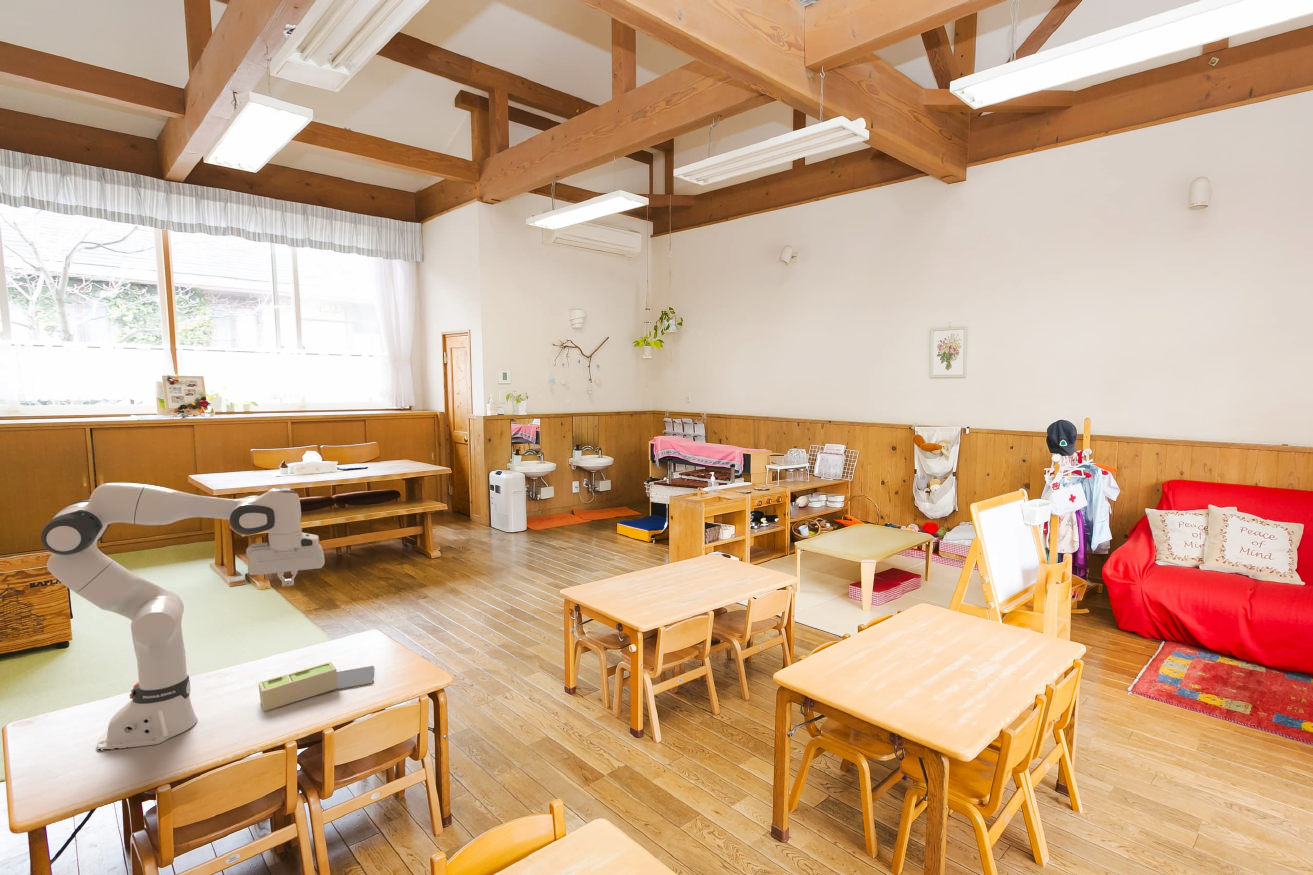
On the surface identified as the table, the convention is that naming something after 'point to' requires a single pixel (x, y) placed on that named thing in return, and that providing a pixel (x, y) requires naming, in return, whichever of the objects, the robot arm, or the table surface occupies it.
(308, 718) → the table surface
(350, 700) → the table surface
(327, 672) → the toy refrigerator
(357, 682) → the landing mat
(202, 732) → the table surface
